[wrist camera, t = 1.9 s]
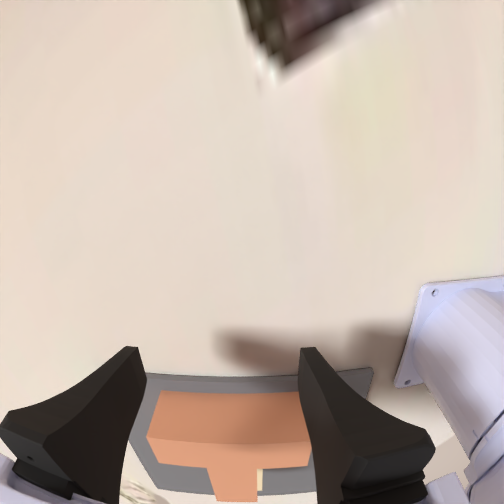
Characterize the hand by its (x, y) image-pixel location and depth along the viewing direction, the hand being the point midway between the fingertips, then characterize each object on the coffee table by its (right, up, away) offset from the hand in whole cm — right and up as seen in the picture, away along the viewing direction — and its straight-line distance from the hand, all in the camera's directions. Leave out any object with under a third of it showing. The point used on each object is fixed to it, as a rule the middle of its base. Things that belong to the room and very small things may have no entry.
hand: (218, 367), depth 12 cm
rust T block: (0, -8, +6) cm, 10 cm away
